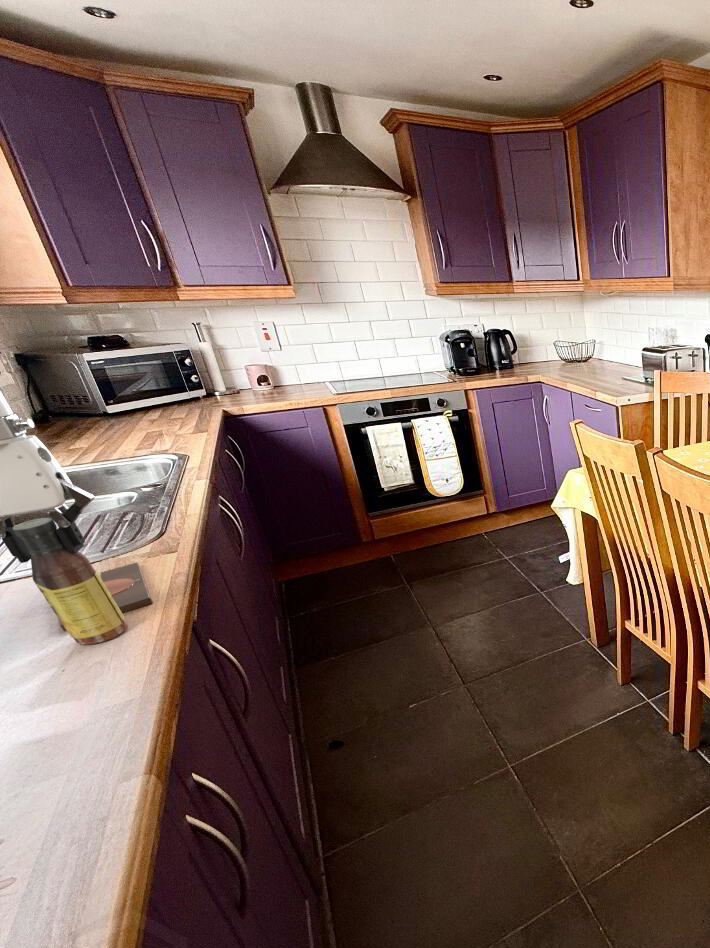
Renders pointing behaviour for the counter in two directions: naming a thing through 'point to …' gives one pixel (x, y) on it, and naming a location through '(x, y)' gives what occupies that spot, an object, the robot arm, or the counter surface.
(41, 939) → the counter surface
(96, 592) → the sauce bottle
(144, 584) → the board
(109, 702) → the counter surface
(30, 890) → the counter surface
